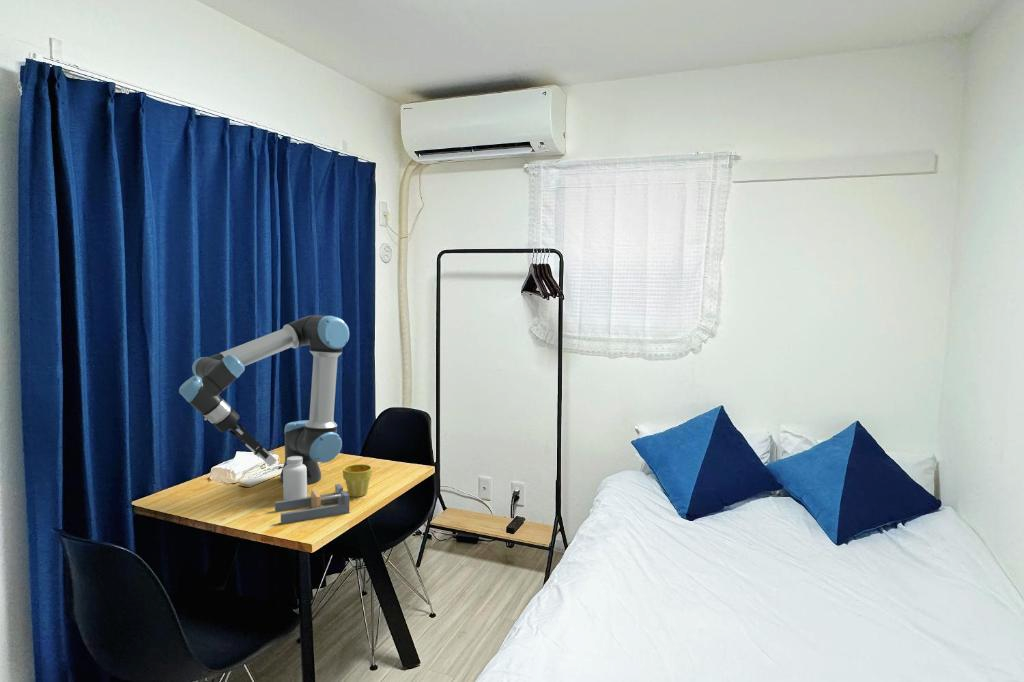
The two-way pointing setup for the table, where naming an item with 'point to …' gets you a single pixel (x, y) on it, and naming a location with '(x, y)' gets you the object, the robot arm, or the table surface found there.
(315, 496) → the pusher
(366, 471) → the plant pot
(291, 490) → the pill bottle
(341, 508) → the lane
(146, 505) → the table surface
